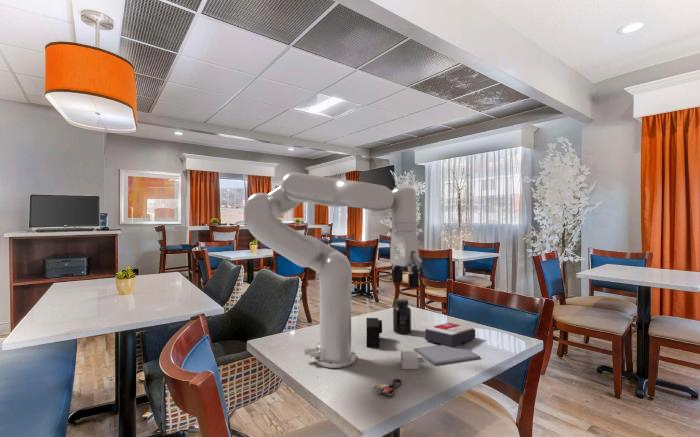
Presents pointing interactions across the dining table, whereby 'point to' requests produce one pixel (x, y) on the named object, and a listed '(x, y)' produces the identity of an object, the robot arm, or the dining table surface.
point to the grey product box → (449, 334)
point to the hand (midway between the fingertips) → (405, 284)
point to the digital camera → (373, 332)
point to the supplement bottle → (402, 317)
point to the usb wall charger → (410, 360)
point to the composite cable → (388, 388)
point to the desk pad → (446, 354)
